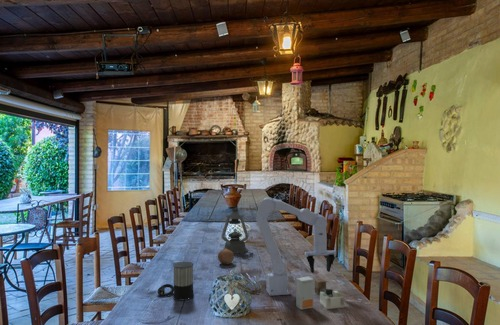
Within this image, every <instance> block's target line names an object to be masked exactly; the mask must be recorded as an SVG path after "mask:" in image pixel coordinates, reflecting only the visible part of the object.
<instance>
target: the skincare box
mask: <svg viewBox="0 0 500 325" xmlns="http://www.w3.org/2000/svg"><path fill="white" fill-rule="evenodd" d="M295 279H296V290H295V291H296V295H295V298H296V300H295V301H296V303H295V304H296V305H295V306H296V307H297V309H299V310H307V309H313V308H314V291H315V279H314V278H312V277H311V276H302V277H297V278H295Z"/></svg>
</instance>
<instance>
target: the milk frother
mask: <svg viewBox="0 0 500 325" xmlns="http://www.w3.org/2000/svg"><path fill="white" fill-rule="evenodd" d="M172 267H173V284H170V283H166V284H163V285H161V286H160V287H159V288H158V289H157V294H158V295H159V296H162V297H167V296H168V295H169V296H171V295H172V294H173V297H174V298H175V300H176V299H188V298H191V299H193V298H194V297H195V294H194V293H195V292H194V263H193V262H192V261H177V262H175V263H173V264H172ZM166 288H169V289H170V291H169V292H166V293H165V291H166V290H165V289H166ZM193 296H194V297H193ZM192 297H193V298H192ZM174 298H173V299H174ZM188 300H189V299H188Z"/></svg>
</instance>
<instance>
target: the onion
mask: <svg viewBox="0 0 500 325" xmlns="http://www.w3.org/2000/svg"><path fill="white" fill-rule="evenodd" d="M224 248H225V247H224ZM224 248H223V249H222V250H220V251H219V252H218V254H217V258H218V262H219V263H220V264H222V265H224V266H227V265H230V264H231V263H233V262H234V257H235V256H234V255H235V254H233V252H232V251H230V250H228V249H227V248H225V249H224Z"/></svg>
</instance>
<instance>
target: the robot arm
mask: <svg viewBox="0 0 500 325" xmlns="http://www.w3.org/2000/svg"><path fill="white" fill-rule="evenodd" d="M273 211H277V212H278V211H283V212H286V213H289V214H291V215H294V216H296V217H297V219H298V221H301V222H303V223H305V224H308V225H310V226H314V228H313V230H314V231H313V250H310V251H304V255H303V256H304V257H305V258H306V260H307V262H308V266H309V268H310V272H311V273H312V274H314V273H315V260H316V259H315V258H314V257H323V256H324V257H325V259H326V271H327V272H329V273H330V272H331V269H332V266H333V263H334V261H335V257H336V256H337V250H331V249H330V250H328V249H327V246H328V245H327V242H328V240H327V239H328V238H327V227H328V225H329V224H328V221H327V219H326V217H325V216H324V215H322V214H319V213H318V212H316V213H315V212H314V211H311V210H310V208H307V207H306V208H301V209H299V208H297V207H296V206H295V207H294V206H293V205H291V204H288V203H286V202H284V201H282V200H279V199H278V198H272V197H270V196H266V197H264V198H263V199H262V200H261V202H260V203H259V205H258V207H257V212H256V217H255V221H256V223H257V224H256V225H257V226H258V229H259V231H260V234H261V236H262V239H263V241H264V244H265V245H266V249H267V251H268V254H269V257H270V262H271V264H272V266H271V267H272V268H271V272H270V273H267V274H266V278H265V281H266V286H265V287H266V292H267V293H268V295H269V296H271V297H272V296H282V295H284V296H285V295H290V294H291V293H290V291H289V290H288V271H287V260H286V259H285V257H284V256H282V253H281V251H280V249H279V247H278V244H277V242H276V240H275V237H274V234H273V232H272V229H271V226H270V224H269V221H268V218H269V215H270V214H271V213H272V212H273Z"/></svg>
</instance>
